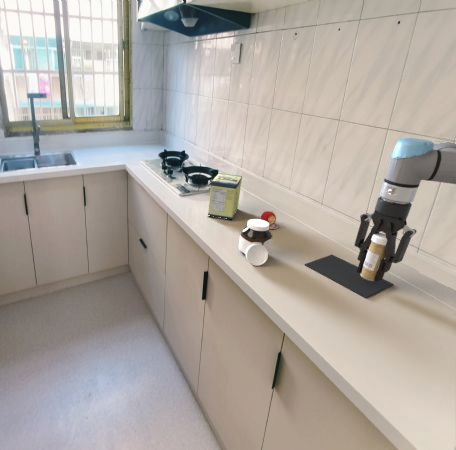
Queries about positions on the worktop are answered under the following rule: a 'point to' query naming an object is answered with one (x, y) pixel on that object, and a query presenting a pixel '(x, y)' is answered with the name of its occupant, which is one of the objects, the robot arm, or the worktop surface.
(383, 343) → the worktop surface
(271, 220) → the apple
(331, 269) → the mat
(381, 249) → the spice jar
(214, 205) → the protein box
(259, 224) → the spread jar
